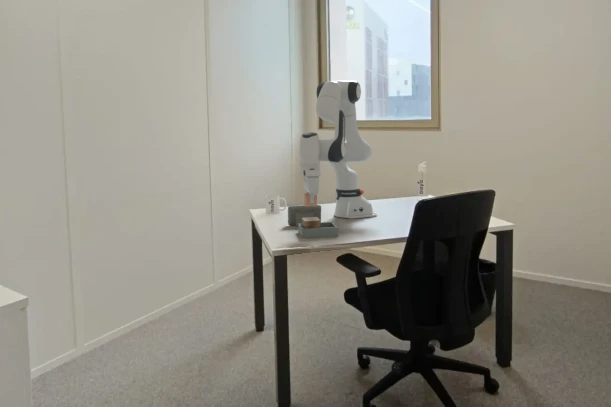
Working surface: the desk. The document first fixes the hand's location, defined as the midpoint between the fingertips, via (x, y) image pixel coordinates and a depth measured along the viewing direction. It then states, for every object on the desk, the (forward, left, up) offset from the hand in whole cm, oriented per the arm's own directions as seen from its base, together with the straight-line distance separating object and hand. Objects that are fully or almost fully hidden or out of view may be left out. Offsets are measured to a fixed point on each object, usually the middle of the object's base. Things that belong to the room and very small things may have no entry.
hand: (310, 201), depth 250 cm
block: (0, 0, -15) cm, 15 cm away
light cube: (0, 0, -2) cm, 2 cm away
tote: (-3, 0, -16) cm, 16 cm away
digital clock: (0, -22, -16) cm, 28 cm away
